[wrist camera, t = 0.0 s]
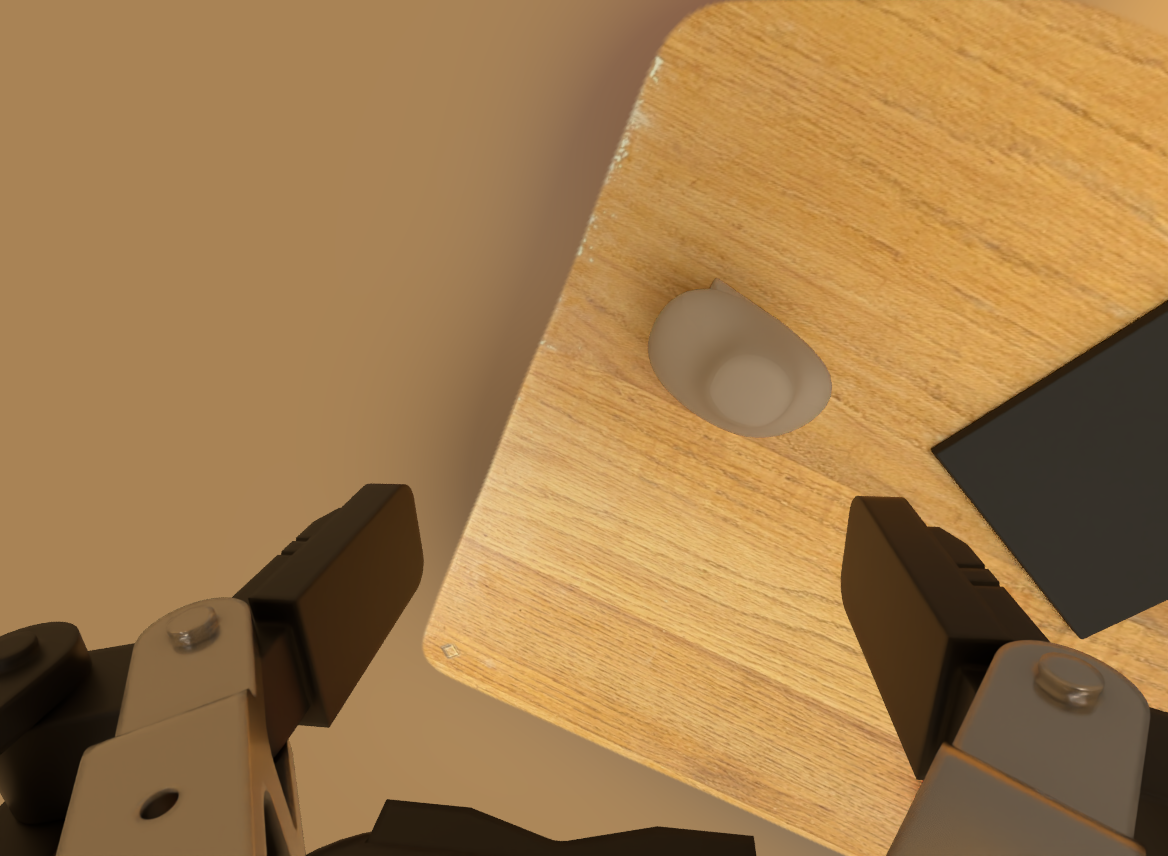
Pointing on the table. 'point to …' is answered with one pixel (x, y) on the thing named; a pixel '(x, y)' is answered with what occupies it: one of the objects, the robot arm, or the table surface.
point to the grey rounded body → (736, 364)
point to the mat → (1081, 477)
